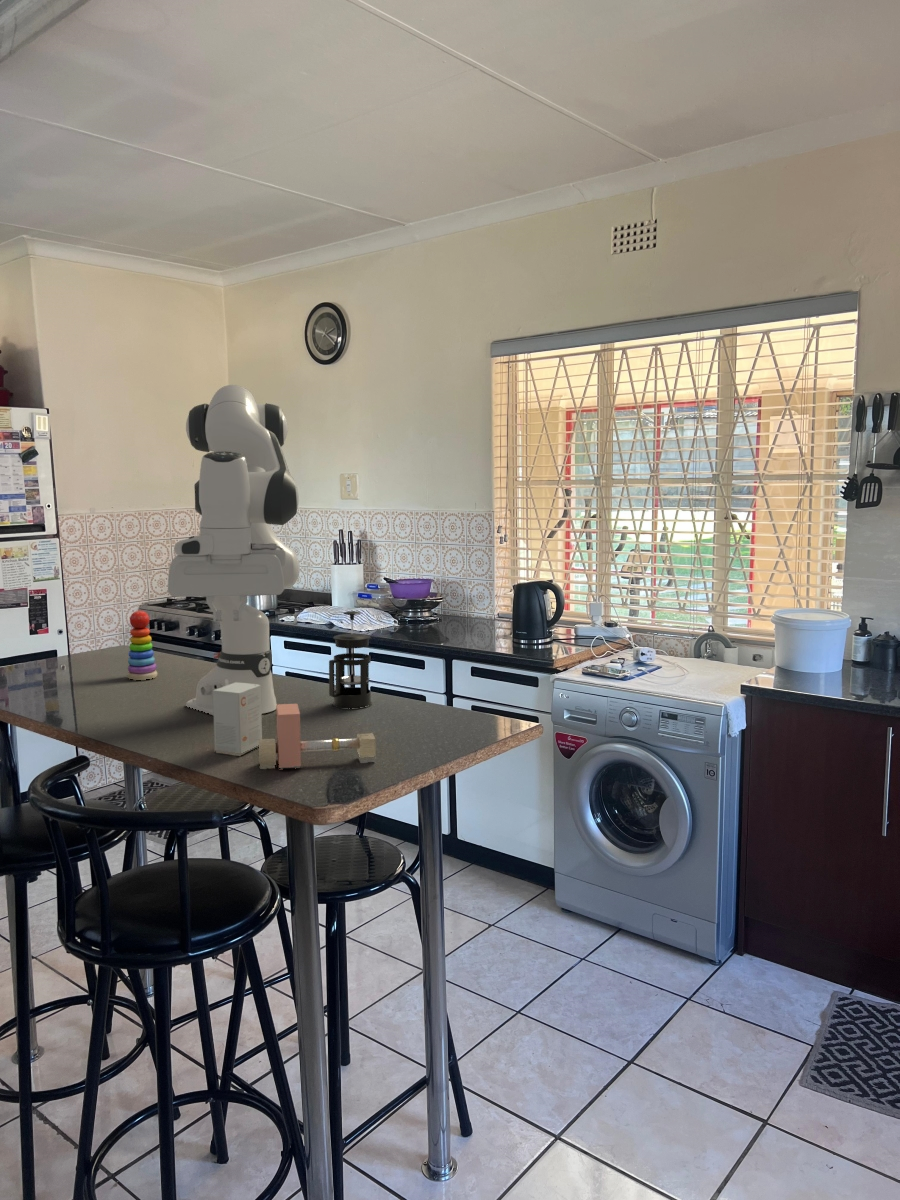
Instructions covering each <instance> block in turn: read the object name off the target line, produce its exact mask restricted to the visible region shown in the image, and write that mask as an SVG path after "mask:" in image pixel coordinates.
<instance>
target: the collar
mask: <svg viewBox="0 0 900 1200" xmlns="http://www.w3.org/2000/svg"><path fill="white" fill-rule="evenodd" d="M275 710H276V743H278V753H276V759H277V758H278V759H277V764H279V765H278V769H279V768H281V767H294V766H302V764H301V759H302V757H301V756H302V755H301V749H300V741H301V711H300V709H299V705H298V703H283V704H282V703H280V704H279V703H277V705H276V709H275Z"/></svg>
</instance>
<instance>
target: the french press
mask: <svg viewBox="0 0 900 1200" xmlns="http://www.w3.org/2000/svg"><path fill="white" fill-rule="evenodd" d="M343 614H344V615H348V616H349V618H350V619H349V620H350V621H351V622H350V623H351V626H350V627H351V628H350V629H351V631H350V632H351V633H341V634H337V635H334V636H333V640H335V644H334V645H335V647H336V648H339V649H340V648H341V649H351V650H350V651H351V653H350V652H349V653H348V652H347V653H346V652H345V653H339V654H336V655H333V659H330V660H329V661H328V686H329V687H328V693H329V697H332V698H333V703H332V705H333V707H335V708H337V709H341V708H348V709H347V710H353V709H352V708H360V707H365V706H368V705H371V704H373V703H372V702H373V701H372V699H371V698H372V695H371V694H372V691H371V689H369V688H370V686H369V684H370V683H369V681H370V675H369V674H370V672H369V671H370V669H369V664H371V661H372V659H371V655H369V654H367V653H359V652H354V649H361V648H367V647H369V645H370V644H369V641H370V640H371V635H368V634H364V633H363V634H362V633H354V620H355V616H358V615H362V614H361V612H359V611H356V610H355V611H353V610H349V611H345V612H343ZM345 666H351V674H350V675H349V674H348V675H345V671H346V670H345V668H346V667H345ZM354 666H359V667H360V671H359V672H360V675H355V674H354ZM358 685H360V687H358ZM345 686H347V687H345ZM348 686H349V687H348ZM350 686H351V687H350ZM371 706H372V705H371ZM349 708H350V709H349Z"/></svg>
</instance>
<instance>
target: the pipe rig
mask: <svg viewBox="0 0 900 1200" xmlns="http://www.w3.org/2000/svg"><path fill="white" fill-rule="evenodd" d="M300 749H301V752H303V753H304V752H319V751H322V752H323V751H332V752H337V751H338V752H339V751H341V750H357V751H356V752H358V754H359V757H360V758H364V757H374V756H375V757H376V737H375V735H374V734H373V732H371V733H370V732H369V733H357V735H356V737H354V738H351V737H350V738H338V737H333V738H332V739H317V740H300ZM277 753H278V743H277V742H276V739H275V738H262V739H259V748H258V761H259V762H258V763H260V766H265V765H276V766H277ZM260 766H259V767H260Z"/></svg>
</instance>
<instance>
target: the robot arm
mask: <svg viewBox="0 0 900 1200" xmlns="http://www.w3.org/2000/svg"><path fill="white" fill-rule="evenodd" d="M288 425H289V424H288V420H287V418H286V416H285V414H284V411H283V409H282V408H281V407H280V406H279V405H276V404H272V403H266V402H265V404H262V403H257V402H256V399H255V397H254V395H253V394H252V393H251V391H249V390H248V389H246V388H245V387H243V386H242V385H237V384H228V385H224V386H223V387H221V388H219V389H218V390H217V391H216V392H214V394H213V396H212V398H211V400H210V402H209V404H208V403H201V404H199V405H195V406H194V407H192V408H191V409H190V410H189V412H188V416H187V419H186V422H185V431H186V436H187V438H188V440H189V443H190V445H191V447H193V449H195V450H196V451H199V452H202V453H203V452H205V453H206V454H204V455H203V456H202V457H201V462H200V469H199V480H198V481H196V482H195V483H194V510H195V511H196V512H197V513H198V514H199V515H200V516H201V519H200V523H199V535H192V536H189V538H185V539H182V540H178V541H177V542H175V544H174V546H173V547H174V548H173V550H174V553H175V555H176V556H174V557H173V559H172V560H171V562H170V565H169V569H168V570H169V571H168V577H167V578H168V579H167V592H168V594H169V595H170V596H171V597H174V598H178V597H179V598H182V597H185V598H187V597H194V598H195V597H205V601H206V604H207V606H208V607H209V609H210V610H211V612H212V614H213V615H212V619H213V620H212V621H213V622H219V625H220V626H219V627H220V634H221V651H220V652H216V653H213V654H212V655H213V656H214V655H215V656H214V657H213V659H217V662H216V666H214V667H213V668H212V669H211V670H210V671H209V672H208V673H207V674H205V675H204V676H203V677H201V678H200V679H199V680H198V682H197V685H196V690H195V698H192V699H190V700H188V701H186V702H185V707H186V706H187V708H189V707H190V709H192V708H193V709H192V710H195V709H196V710H195V711H198V710H199V712H201V711H203V712H202V713H204V712H205V714H207V713H209V715H211V716H214V715H213V690H216V689H219V688H221V687H224V686H227V685H230V684H233V683H235V682H237V683H249V684H257V685H261V715H263V714H266V713H271V712H273V711H275V710H276V705H278V703H277V697H276V695H275V690H274V682H273V675H272V674H273V673H272V670H271V668H272V665H273V660H272V659H273V655H272V650H271V649H270V646H271V645H270V620H269V618H268V616H267V615H266V614H265V612H263V611H262V610H260V609H258V608H257V607H254V606H253V605H252V606H251V605H249V604H248V602H249V601H248V598H249V597H248V596H279V595H282V593H284V591H285V590H287V589H289V588H292V587H293V586H294V585H295V584H296V582H297V580H299V576H300V570H301V568H300V567H301V566H300V562H299V558H298V556H297V554H296V553H295V552H294V551H293V550H292V549H291V548H290V547H288V546H287V545H286V544H285V543H284V542H282V541H281V540H280V539H279V537H278V536H277V534H276V533H275V531H274V530H273V527H272V525H276V526H284V525H286V524H287V523H288V522H290V521H291V520H292V519H293V518H294V517H295V516H296V515H297V512H298V507H299V501H300V498H299V491H298V487H297V485H296V482H295V479H294V477H293V476H292V474H291V473H290V470H289V466H288V464H287V461H286V459H285V455H284V452H283V450H282V447H283V446H284V444H285V441H286V439H287V435H288V431H289V430H288V429H289V427H288Z"/></svg>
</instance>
